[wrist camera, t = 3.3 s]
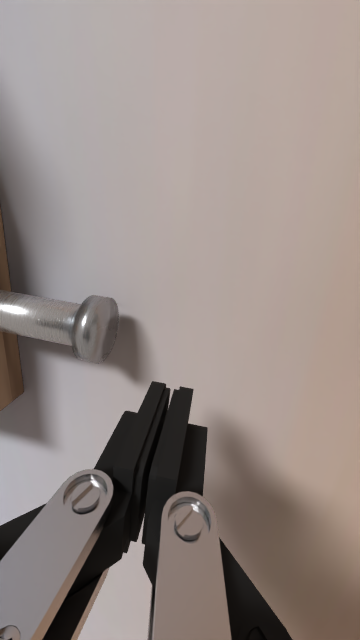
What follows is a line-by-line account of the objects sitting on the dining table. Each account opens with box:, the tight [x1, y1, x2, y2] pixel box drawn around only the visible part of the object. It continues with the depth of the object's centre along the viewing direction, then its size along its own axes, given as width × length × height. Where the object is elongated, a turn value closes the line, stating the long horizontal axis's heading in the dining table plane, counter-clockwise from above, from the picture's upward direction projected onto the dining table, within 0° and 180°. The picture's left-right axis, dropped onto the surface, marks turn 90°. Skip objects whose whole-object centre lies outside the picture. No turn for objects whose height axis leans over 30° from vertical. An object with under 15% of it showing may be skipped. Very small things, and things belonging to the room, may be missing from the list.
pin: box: [0, 290, 119, 363], centre depth 16 cm, size 12×4×4 cm, turn 83°
